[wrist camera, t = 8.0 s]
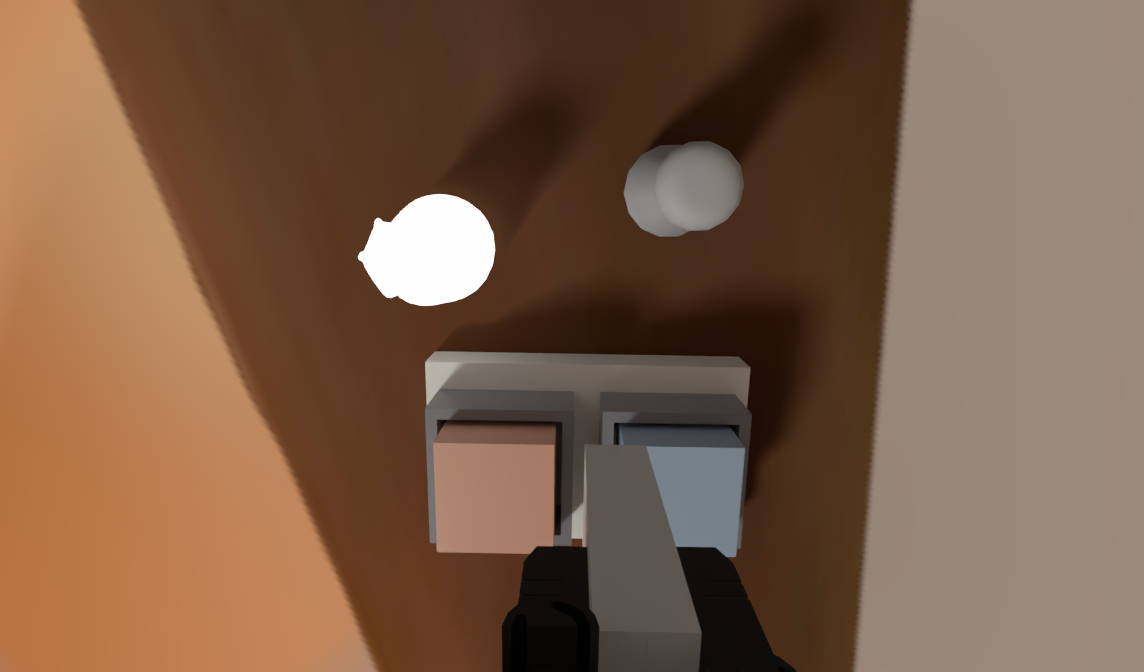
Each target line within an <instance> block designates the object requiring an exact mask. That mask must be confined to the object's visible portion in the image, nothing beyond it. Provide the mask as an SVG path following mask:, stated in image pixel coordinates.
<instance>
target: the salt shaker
mask: <svg viewBox="0 0 1144 672" xmlns="http://www.w3.org/2000/svg"><path fill="white" fill-rule="evenodd" d="M743 187H744V181H743V176H742V170H741V165H740V164H739V163H738V162H737V160H736V159H735V158H734V156H733V155H732V154H731V153H730V151H729V150H727V149H725V148H723V147H721V146H719V145H717V144H715V143H713V142H711V141H697V142H688V143H686V144H684V145H659V146H657V147H655V148H654V149H652V150H650V151H648V152H646V153H644V154H642V155H641V156H640V157H639V158H638V160H637V161H636V162H635V164H634V165H633V167H632V168H631V169H630V171H629V172H628V176H627V180H626V185H625V190H624V196H625V200H626V204H627V208H628V212H629V214H630V215H631V216H632V218H633V219H634V220H635V221H636V223H637V224H638V225H639V227H640V228H641V229H643V230H645V231H648V232H650V233H652V234H655V235H657V236H681V235H683V234H684V233H686V232H688V231H692V230H709V229H711V228H713V227H715V226H716V225H718V224H720V223H722V222H724V221H726V220H727V219H728V218H729V216H730V215H731V214H732V213H733V212H734V210H735V209H736V208H737V207H738V205H739V204H740V200H741V196H742V192H743Z"/></svg>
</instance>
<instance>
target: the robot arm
mask: <svg viewBox="0 0 1144 672" xmlns="http://www.w3.org/2000/svg"><path fill="white" fill-rule="evenodd" d="M502 666H503V672H796V670H795V669H794V668H793V667H792V666H790V665H789V664H788V663H786V662H785V661H784V660H782V659H781V658H780V657H778V656H776V655H774V654H773V652H772V650H771V648H770V645H769V643H768V641H767V639H766V636H765V634H764V632H763V630H762V627H761V625H760V623H759V620H758V618H757V616H756V614H755V611H754V609H753V607H752V605H751V602H750V600H748V596H747V593H746V591H745V589H744V587H743V585H741V580H740V578H739V575H738V573H737V571H736V569H735V566H734V564H733V563H732V562H731V561H730V560H729V559H728V558H727V557H726V556H725V555H724V554H722V553H721V552H720V551H719V550H718V549H717V548H716V547H676V545H675V542H674V538H673V535H672V532H671V528H670V525H669V521H668V518H667V515H666V511H665V508H664V505H663V501H662V498H661V495H660V491H659V488H658V485H657V481H656V478H655V474H654V471H653V468H652V464H651V461H650V458H649V454H648V451H647V448H646V445H593V444H585V460H584V503H583V547H562V546H536V548H535V549H534V550H533V551H532V552H531V554H530V555H529V556H528V557H527V558H526V560H525V561H524V566H523V573H522V582H521V587H520V595H519V601H518V605H517V606H516V607H514V608H513V609H512V610H511V611H510V612H509V613H508V614H507V616H506V618H505V620H504V623H503V625H502Z"/></svg>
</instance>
